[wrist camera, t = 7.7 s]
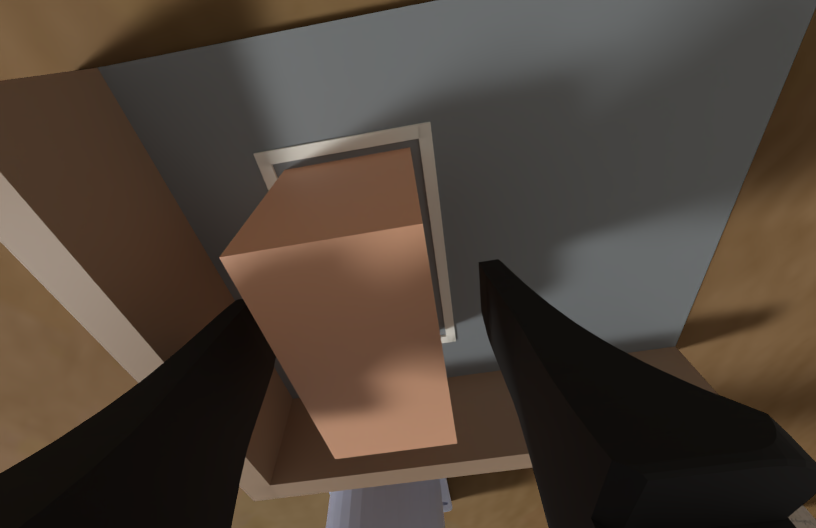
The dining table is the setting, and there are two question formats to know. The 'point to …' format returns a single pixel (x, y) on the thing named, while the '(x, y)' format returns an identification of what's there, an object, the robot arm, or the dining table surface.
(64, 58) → the dining table surface
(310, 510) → the dining table surface
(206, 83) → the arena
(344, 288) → the terracotta block
